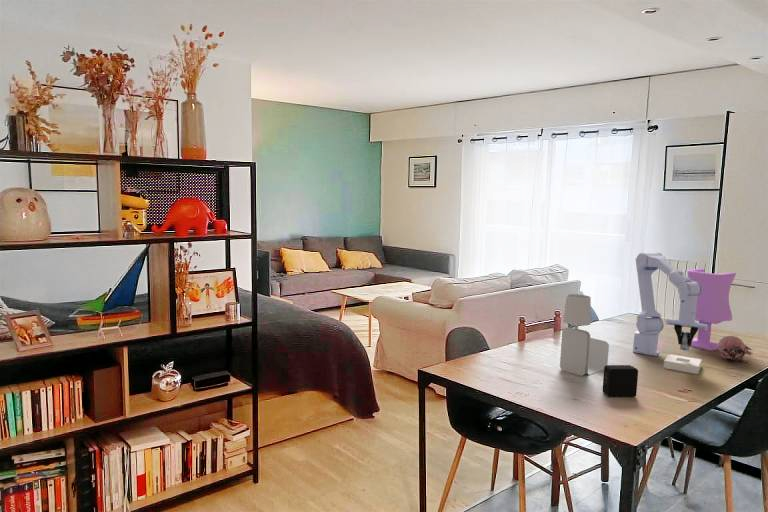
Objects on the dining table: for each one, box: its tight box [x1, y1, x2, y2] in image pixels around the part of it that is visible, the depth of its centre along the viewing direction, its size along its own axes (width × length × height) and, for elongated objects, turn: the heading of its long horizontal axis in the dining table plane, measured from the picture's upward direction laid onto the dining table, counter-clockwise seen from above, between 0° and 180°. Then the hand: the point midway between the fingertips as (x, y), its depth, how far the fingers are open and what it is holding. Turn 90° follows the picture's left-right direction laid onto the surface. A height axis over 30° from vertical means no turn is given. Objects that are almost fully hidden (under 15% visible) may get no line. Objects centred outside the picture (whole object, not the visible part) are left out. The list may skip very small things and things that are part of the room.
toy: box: [717, 335, 754, 363], centre depth 228 cm, size 12×11×15 cm
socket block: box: [663, 353, 702, 375], centre depth 219 cm, size 12×12×3 cm
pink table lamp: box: [686, 268, 737, 352], centre depth 251 cm, size 16×16×35 cm
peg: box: [679, 331, 690, 351], centre depth 218 cm, size 3×3×7 cm
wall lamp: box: [559, 293, 610, 377], centre depth 211 cm, size 10×21×30 cm, turn 131°
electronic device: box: [602, 364, 639, 398], centre depth 186 cm, size 4×10×10 cm, turn 95°
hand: (684, 344), depth 218 cm, fingers closed on peg, 3 cm apart
